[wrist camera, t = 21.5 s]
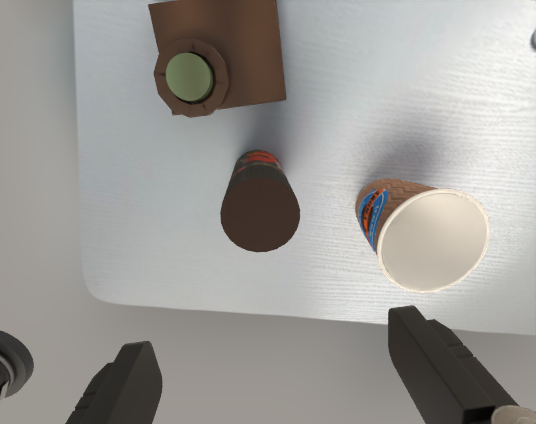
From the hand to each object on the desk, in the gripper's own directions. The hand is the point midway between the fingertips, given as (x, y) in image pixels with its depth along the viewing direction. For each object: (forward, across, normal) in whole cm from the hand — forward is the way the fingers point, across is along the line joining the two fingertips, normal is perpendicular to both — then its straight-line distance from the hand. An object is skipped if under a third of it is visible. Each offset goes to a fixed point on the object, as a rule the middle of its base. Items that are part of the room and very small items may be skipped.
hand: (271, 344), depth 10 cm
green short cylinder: (+24, +5, -11) cm, 27 cm away
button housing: (+28, +2, -13) cm, 31 cm away
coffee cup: (+28, -15, +6) cm, 32 cm away
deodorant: (+28, 0, 0) cm, 28 cm away
